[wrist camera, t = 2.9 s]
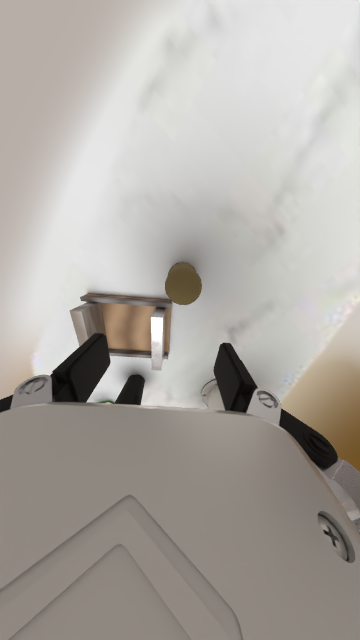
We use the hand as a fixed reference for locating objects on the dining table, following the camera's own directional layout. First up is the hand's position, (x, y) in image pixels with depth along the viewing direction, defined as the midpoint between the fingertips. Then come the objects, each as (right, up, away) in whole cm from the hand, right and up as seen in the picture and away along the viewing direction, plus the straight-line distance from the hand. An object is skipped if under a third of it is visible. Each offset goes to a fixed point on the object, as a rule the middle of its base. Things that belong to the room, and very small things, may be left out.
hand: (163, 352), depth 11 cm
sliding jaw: (-3, 0, +20) cm, 20 cm away
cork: (+2, +11, +17) cm, 20 cm away
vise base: (-10, +1, +21) cm, 23 cm away
